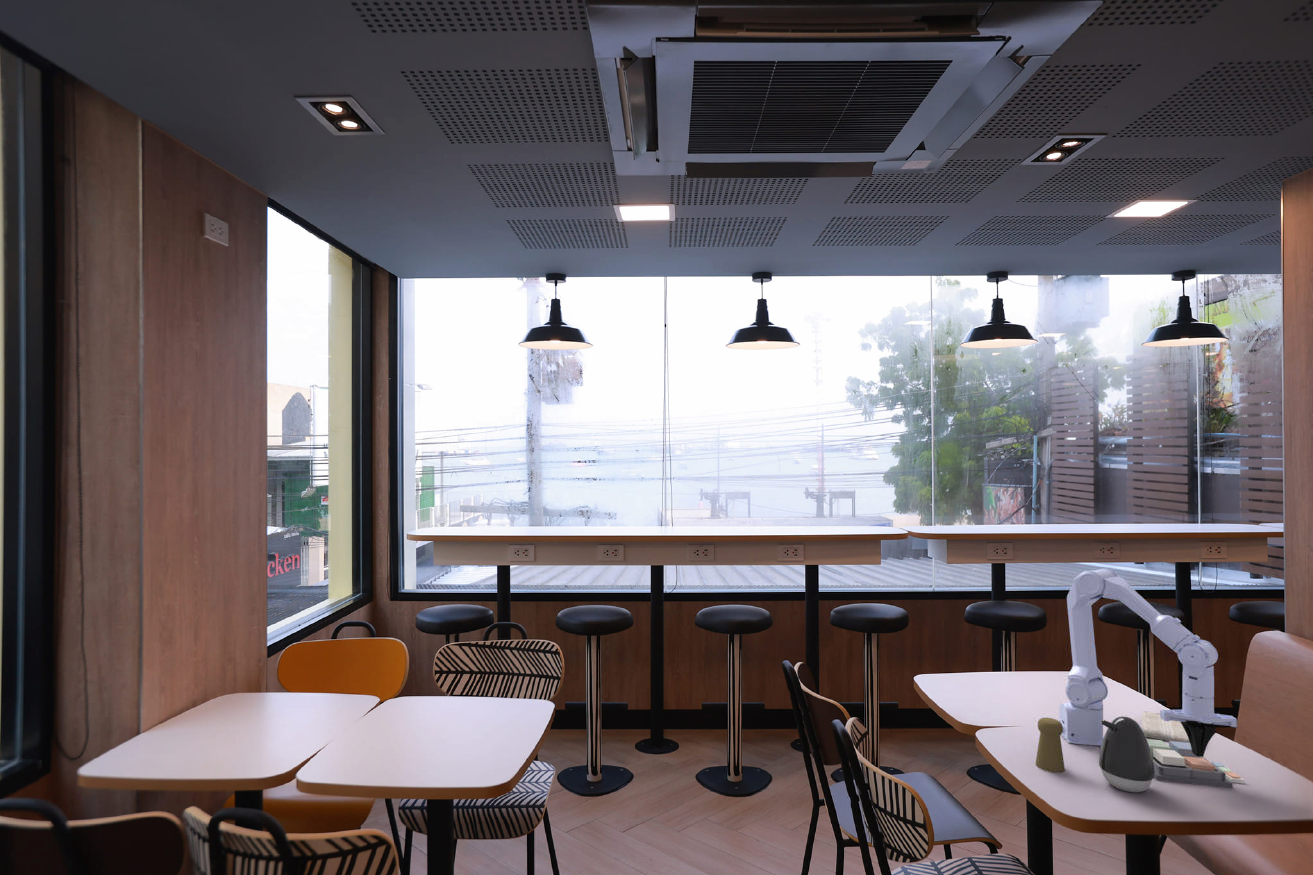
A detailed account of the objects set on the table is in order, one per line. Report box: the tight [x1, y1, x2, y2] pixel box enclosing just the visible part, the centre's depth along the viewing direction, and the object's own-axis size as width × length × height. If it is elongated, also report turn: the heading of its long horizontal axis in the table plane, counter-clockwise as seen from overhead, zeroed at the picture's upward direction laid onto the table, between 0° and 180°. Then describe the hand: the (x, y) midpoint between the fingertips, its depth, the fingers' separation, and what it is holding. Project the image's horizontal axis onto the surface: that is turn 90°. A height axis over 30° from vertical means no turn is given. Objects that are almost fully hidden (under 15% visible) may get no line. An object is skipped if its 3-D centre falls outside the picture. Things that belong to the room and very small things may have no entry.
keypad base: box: [1152, 754, 1234, 789], centre depth 164 cm, size 15×15×3 cm
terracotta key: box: [1182, 756, 1215, 771], centre depth 160 cm, size 4×4×2 cm
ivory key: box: [1153, 749, 1185, 766], centre depth 162 cm, size 4×4×2 cm
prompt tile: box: [1210, 761, 1244, 784], centre depth 162 cm, size 2×9×1 cm, turn 168°
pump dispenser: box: [1098, 715, 1155, 793], centre depth 154 cm, size 10×10×15 cm
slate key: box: [1168, 741, 1200, 758], centre depth 166 cm, size 4×4×2 cm
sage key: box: [1146, 738, 1171, 754], centre depth 167 cm, size 4×4×2 cm
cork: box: [1035, 717, 1066, 774], centre depth 164 cm, size 6×6×11 cm
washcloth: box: [1140, 711, 1190, 743], centre depth 187 cm, size 12×18×3 cm, turn 146°
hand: (1197, 754), depth 160 cm, fingers closed
